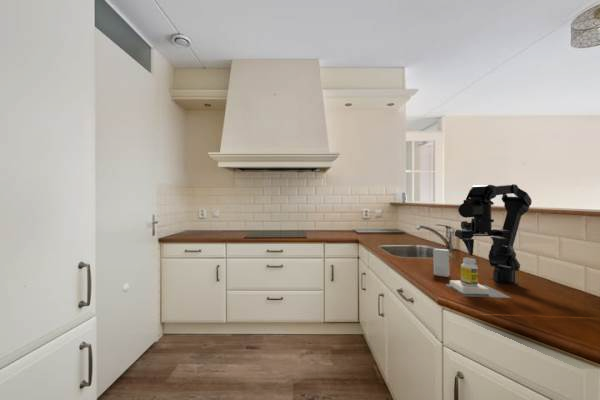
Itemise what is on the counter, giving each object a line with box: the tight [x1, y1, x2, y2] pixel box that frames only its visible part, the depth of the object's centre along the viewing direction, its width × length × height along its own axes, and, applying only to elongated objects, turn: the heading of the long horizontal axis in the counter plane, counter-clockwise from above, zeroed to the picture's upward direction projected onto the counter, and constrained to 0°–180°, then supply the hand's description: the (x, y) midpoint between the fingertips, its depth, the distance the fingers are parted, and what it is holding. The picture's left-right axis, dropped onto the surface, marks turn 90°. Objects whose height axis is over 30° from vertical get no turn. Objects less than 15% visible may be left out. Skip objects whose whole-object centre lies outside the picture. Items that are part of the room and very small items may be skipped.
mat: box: [445, 283, 511, 299], centre depth 95 cm, size 16×13×1 cm
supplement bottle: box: [460, 257, 479, 286], centre depth 95 cm, size 5×5×10 cm
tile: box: [449, 279, 489, 295], centre depth 95 cm, size 2×9×9 cm
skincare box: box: [432, 248, 450, 278], centre depth 115 cm, size 6×4×12 cm
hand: (482, 255), depth 100 cm, fingers open, 9 cm apart
